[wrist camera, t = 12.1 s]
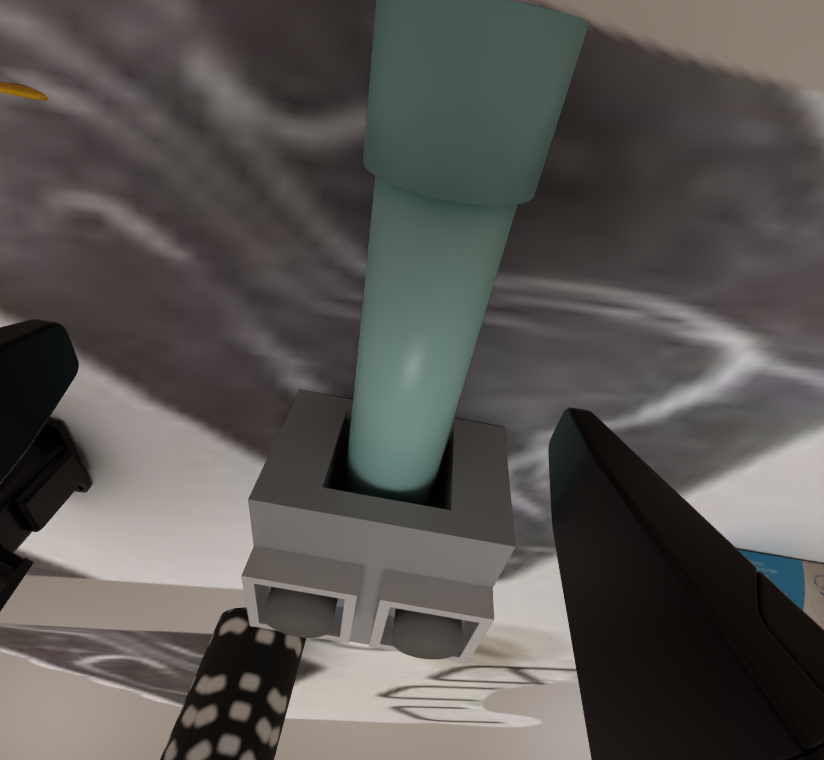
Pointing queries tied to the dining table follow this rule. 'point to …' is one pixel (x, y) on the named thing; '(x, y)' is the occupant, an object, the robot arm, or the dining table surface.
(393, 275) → the cartridge
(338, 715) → the dining table surface
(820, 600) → the milk carton
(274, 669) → the spotted tube
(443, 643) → the plunger
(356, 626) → the housing
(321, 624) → the plunger
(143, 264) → the dining table surface
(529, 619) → the dining table surface
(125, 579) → the dining table surface
